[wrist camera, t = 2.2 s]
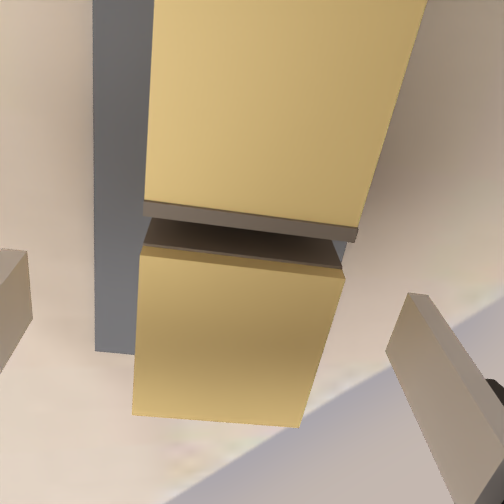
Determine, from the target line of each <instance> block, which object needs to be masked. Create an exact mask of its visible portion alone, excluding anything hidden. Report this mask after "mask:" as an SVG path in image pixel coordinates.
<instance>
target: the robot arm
mask: <svg viewBox="0 0 504 504" xmlns="http://www.w3.org/2000/svg"><path fill="white" fill-rule="evenodd" d="M32 319H33V316H32V304H31V292H30V280H29V268H28V256H27V251H21V250H12V249H3V248H2V249H1V250H0V373H1V372H2V370H3V368H4V367H5V365H6V363H7V362H8V360H9V358H10V356H11V355H12V353H13V351H14V350H15V348H16V346H17V345H18V343H19V341H20V339H21V338H22V336H23V334H24V333H25V331H26V329H27V328H28V326H29V324H30V323H31V321H32ZM385 352H386V354H387V356H388V358H389V361H390V363H391V365H392V367H393V369H394V372H395V374H396V376H397V378H398V380H399V383H400V385H401V387H402V389H403V391H404V394H405V396H406V398H407V400H408V402H409V405H410V407H411V409H412V411H413V413H414V415H415V418H416V420H417V422H418V424H419V427H420V429H421V431H422V433H423V436H424V438H425V440H426V442H427V444H428V447H429V449H430V451H431V453H432V455H433V458H434V460H435V462H436V464H437V466H438V469H439V471H440V473H441V475H442V477H443V480H444V482H445V484H446V486H447V488H448V491H449V493H450V495H451V497H452V499H453V501H454V504H504V388H503V387H502V386H501V385H500V384H499V383H498V382H497V381H495V380H493V379H485V378H484V377H483V375H482V374H481V372H480V371H479V369H478V368H477V366H476V365H475V364H474V362H473V361H472V359H471V358H470V356H469V355H468V353H467V352H466V351H465V349H464V347H463V346H462V344H461V343H460V341H459V340H458V338H457V337H456V336H455V334H454V333H453V331H452V330H451V328H450V327H449V325H448V324H447V322H446V321H445V319H444V318H443V316H442V315H441V313H440V312H439V310H438V309H437V308H436V306H435V305H434V303H433V302H432V300H431V299H430V297H429V296H428V295H423V294H414V293H408V294H407V297H406V299H405V302H404V305H403V307H402V310H401V312H400V315H399V317H398V320H397V322H396V325H395V328H394V330H393V333H392V335H391V338H390V340H389V343H388V345H387V348H386V351H385Z"/></svg>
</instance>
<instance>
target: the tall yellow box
mask: <svg viewBox="0 0 504 504" xmlns="http://www.w3.org/2000/svg"><path fill="white" fill-rule="evenodd" d="M426 4H427V0H154V19H153V38H152V58H151V77H150V97H149V117H148V136H147V156H146V175H145V195H144V201H143V216H146V217H154V218H162V219H170V220H178V221H186V222H194V223H202V224H209V225H217V226H225V227H233V228H241V229H249V230H257V231H265V232H273V233H281V234H289V235H296V236H304V237H312V238H320V239H328V240H336V241H344V242H352V243H354V242H355V239H356V236H357V233H358V230H359V229H358V224H359V221H360V217H361V214H362V211H363V208H364V204H365V201H366V198H367V195H368V191H369V188H370V185H371V182H372V179H373V175H374V172H375V169H376V166H377V162H378V159H379V156H380V153H381V149H382V146H383V143H384V140H385V136H386V133H387V130H388V127H389V123H390V120H391V117H392V114H393V110H394V107H395V104H396V101H397V98H398V94H399V91H400V88H401V85H402V81H403V78H404V75H405V72H406V68H407V65H408V62H409V59H410V55H411V52H412V49H413V46H414V42H415V39H416V36H417V33H418V29H419V26H420V23H421V20H422V16H423V13H424V10H425V7H426Z"/></svg>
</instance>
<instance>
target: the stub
mask: <svg viewBox="0 0 504 504" xmlns="http://www.w3.org/2000/svg"><path fill="white" fill-rule="evenodd" d="M345 280H346V279H345V276H344V274H343V271H342V265H341V262H340V260H339V257H338V255H337V252H336V250H335V247H334V245H333V242H332V240H328V239H320V238H312V237H304V236H296V235H289V234H281V233H273V232H265V231H257V230H249V229H241V228H233V227H225V226H217V225H209V224H202V223H194V222H186V221H178V220H170V219H162V218H154V217H152V218H151V221H150V224H149V227H148V230H147V233H146V236H145V239H144V242H143V247H142V250H141V253H140V261H139V281H138V301H137V322H136V342H135V363H134V383H133V403H132V415H137V416H150V417H163V418H176V419H189V420H202V421H215V422H228V423H241V424H254V425H267V426H280V427H293V428H299V426H300V423H301V420H302V417H303V413H304V410H305V407H306V404H307V401H308V398H309V394H310V391H311V388H312V385H313V382H314V378H315V375H316V372H317V369H318V366H319V362H320V359H321V356H322V353H323V350H324V347H325V343H326V340H327V337H328V334H329V331H330V327H331V324H332V321H333V318H334V315H335V312H336V308H337V305H338V302H339V299H340V296H341V292H342V289H343V286H344V283H345Z"/></svg>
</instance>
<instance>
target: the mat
mask: <svg viewBox="0 0 504 504" xmlns="http://www.w3.org/2000/svg"><path fill="white" fill-rule="evenodd" d="M153 19H154V0H93V129H94V268H95V351H99V352H110V353H120V354H131V355H135V342H136V322H137V301H138V281H139V261H140V253H141V250H142V247H143V242H144V239H145V236H146V233H147V230H148V227H149V224H150V221H151V218H152V217H146V216H143V201H144V195H145V175H146V156H147V136H148V117H149V97H150V77H151V58H152V38H153ZM332 242H333V245H334V247H335V250H336V252H337V255H338V257H339V260H340V262H341V261H342V258H343V255H344V251H345V248H346V245H347V242H344V241H336V240H332Z"/></svg>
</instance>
